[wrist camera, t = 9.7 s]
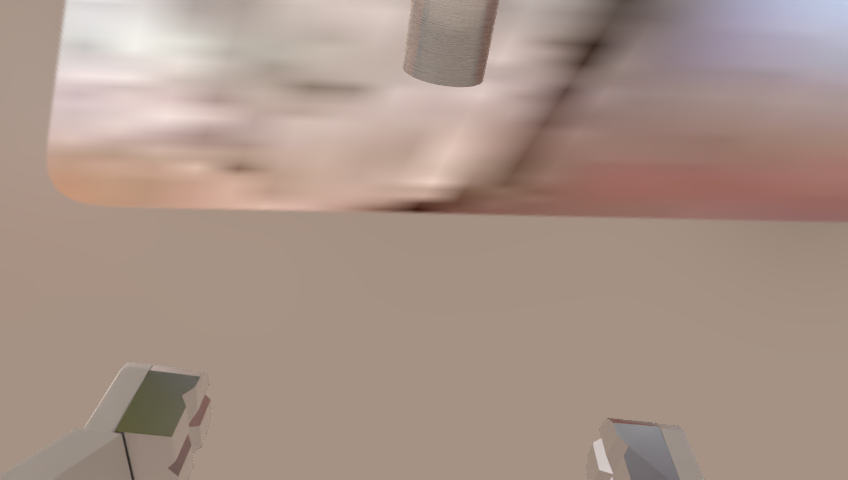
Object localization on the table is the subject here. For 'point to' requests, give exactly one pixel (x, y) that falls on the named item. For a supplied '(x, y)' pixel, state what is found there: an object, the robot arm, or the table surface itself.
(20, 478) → the robot arm
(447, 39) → the shaft
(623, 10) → the table surface
